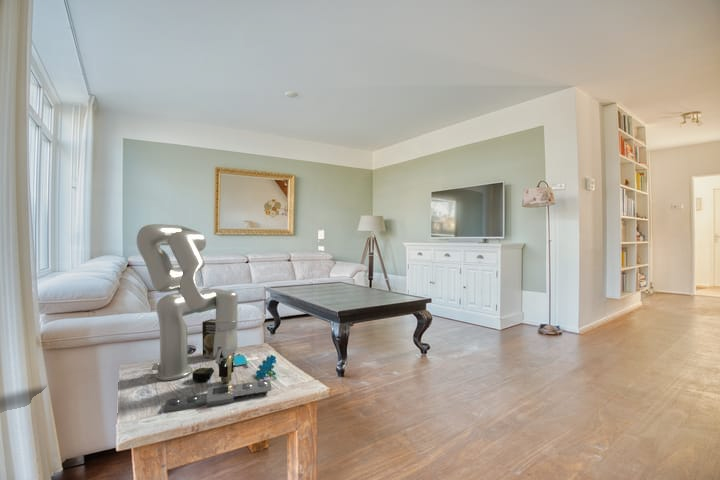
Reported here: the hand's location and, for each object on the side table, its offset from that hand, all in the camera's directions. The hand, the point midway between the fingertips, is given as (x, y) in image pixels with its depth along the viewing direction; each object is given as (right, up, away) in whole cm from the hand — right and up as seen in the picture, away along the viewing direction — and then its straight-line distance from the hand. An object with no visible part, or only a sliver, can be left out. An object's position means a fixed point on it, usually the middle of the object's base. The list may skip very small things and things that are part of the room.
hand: (226, 374), depth 128 cm
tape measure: (-10, -4, +3) cm, 11 cm away
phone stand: (-1, -4, +23) cm, 24 cm away
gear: (+14, -3, +5) cm, 15 cm away
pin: (0, -2, 0) cm, 2 cm away
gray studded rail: (+3, -3, -14) cm, 14 cm away
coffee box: (-16, -4, +30) cm, 34 cm away
